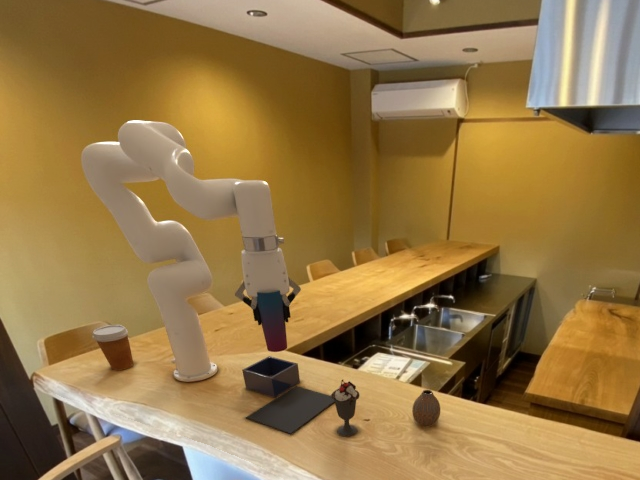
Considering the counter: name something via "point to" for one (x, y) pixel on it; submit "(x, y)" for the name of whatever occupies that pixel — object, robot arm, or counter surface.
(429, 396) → the vase
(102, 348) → the disposable coffee cup
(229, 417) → the counter surface
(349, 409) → the sundae
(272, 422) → the mat
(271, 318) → the cup
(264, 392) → the holder
